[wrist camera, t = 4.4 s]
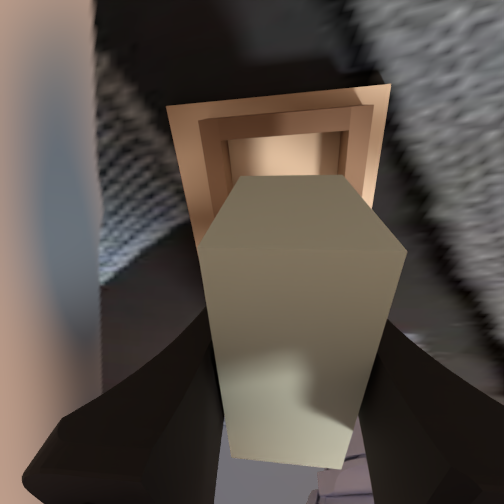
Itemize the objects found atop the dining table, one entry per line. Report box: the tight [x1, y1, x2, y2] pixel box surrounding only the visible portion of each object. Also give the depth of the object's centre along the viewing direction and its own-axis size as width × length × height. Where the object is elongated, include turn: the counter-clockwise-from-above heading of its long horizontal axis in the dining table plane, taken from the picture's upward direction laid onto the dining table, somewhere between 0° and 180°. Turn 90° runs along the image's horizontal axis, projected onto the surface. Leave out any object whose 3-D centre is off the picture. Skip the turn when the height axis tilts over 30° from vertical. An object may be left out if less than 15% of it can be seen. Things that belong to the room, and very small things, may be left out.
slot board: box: [166, 84, 391, 257], centre depth 17 cm, size 16×12×3 cm
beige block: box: [197, 175, 407, 470], centre depth 10 cm, size 4×9×6 cm, turn 2°
